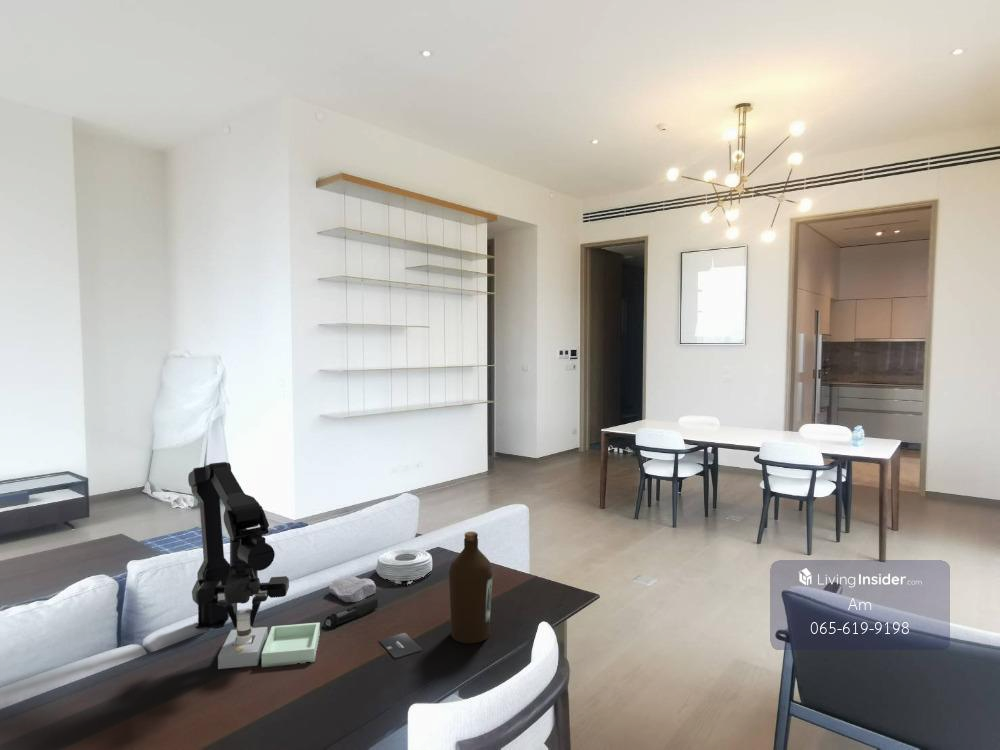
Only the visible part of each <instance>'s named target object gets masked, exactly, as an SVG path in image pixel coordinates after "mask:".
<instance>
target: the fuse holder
mask: <svg viewBox="0 0 1000 750" xmlns="http://www.w3.org/2000/svg"><path fill="white" fill-rule="evenodd" d="M268 635H269V634H268V626H262V627H260V626H259V627H253V626H251V637H252V644H246V645H236V640H237V628H236V629H235V628H234V629H231V630H230V632H229V634H228V636H227V637H226V639H225V642H224V644H223V645H222V647H221V649H220V651H219V653H218V655H217V669H218V670H222V669H224V670H225V669H230V668H231V669H232V668H234V669H235V668H245V667H253V666H254V667H256V666H258V665H259V662H260V660H261V659H262V651H263V649H264V646H265V643H266V641H267V638H268Z"/></svg>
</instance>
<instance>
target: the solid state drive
mask: <svg viewBox="0 0 1000 750" xmlns="http://www.w3.org/2000/svg"><path fill="white" fill-rule="evenodd" d="M379 642H380V643H381V644H382V645H383V646H384V647H385V648H384V647H383V646H382V645H381V644H380V643H379ZM378 643H379V644H380V645H381V646H382V647H383V648H384V649H385V650H386V652H387V653H390V654H391V655H390V656H391V657H392V658H393V659H395V660H397V659H401V658H404V657H407V656H412V655H414V654H418V653H420V652H423V648H422V647H421V646H420V645H419V644H418V643H417V642H416V641H414V640H413V638H411V637H410V635H408V634H407V633H406V632H403V633H398V634H395V635H391V636H388V637H385V638H381V639H378Z"/></svg>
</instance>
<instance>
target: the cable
mask: <svg viewBox="0 0 1000 750" xmlns="http://www.w3.org/2000/svg"><path fill="white" fill-rule="evenodd" d="M375 567H376V568H375V570H376V573H377V574H378V576H379V577H380V578H381V577H382V579H384V580H386V579H388V580H395V583H397V584H400V585H401V584H402V582H407V583H406V584H407V586H409V585H408V584H410V585H412V584H411V583H412V582H413V580H415V579H419V578H421V577H423V578H425V577H426V576H425V575H426V574H427V573H429V572H430V571H432V570H433V558H432V554H431V553H429V552H427V551H425V550H422V549H420V548H412V547H410V548H405V547H403V548H397V549H392V550H390V551H386V552H385V553H383V554H382V555H380V556H379V558H378V559H377V564H376V566H375ZM430 573H431V572H430ZM430 573H429V574H430ZM424 576H425V577H424ZM421 579H422V578H421ZM388 580H387V581H388ZM410 580H411V581H410ZM419 580H420V579H419Z"/></svg>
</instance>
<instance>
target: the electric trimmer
mask: <svg viewBox="0 0 1000 750" xmlns="http://www.w3.org/2000/svg"><path fill="white" fill-rule="evenodd" d="M378 603H379V601H378V599H377V598H374V599H371V600H368V601H366V602H362V603H360V604H357V605H354V606H352V607H350V608H346V609H343V610H342V611H341V610H340V611H339V612H336V613H335V612H333V613H331V614H330V615H328V616H327V617H326V618H325V620H324V622H323V627H324V626H326V627H328V628H329V629H328V628H327V629H328V630H331V629H332V628H334V629H335V628H336V626H339V625H340V624H343V623H345V622H347V621H350V620H353V619H355V618H356V617H358V618H361V617H363V616H364V615H367V614H368V613H370V612H372V611H373V610H376V609H377V608H378ZM326 627H325V628H326ZM332 630H333V629H332Z"/></svg>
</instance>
